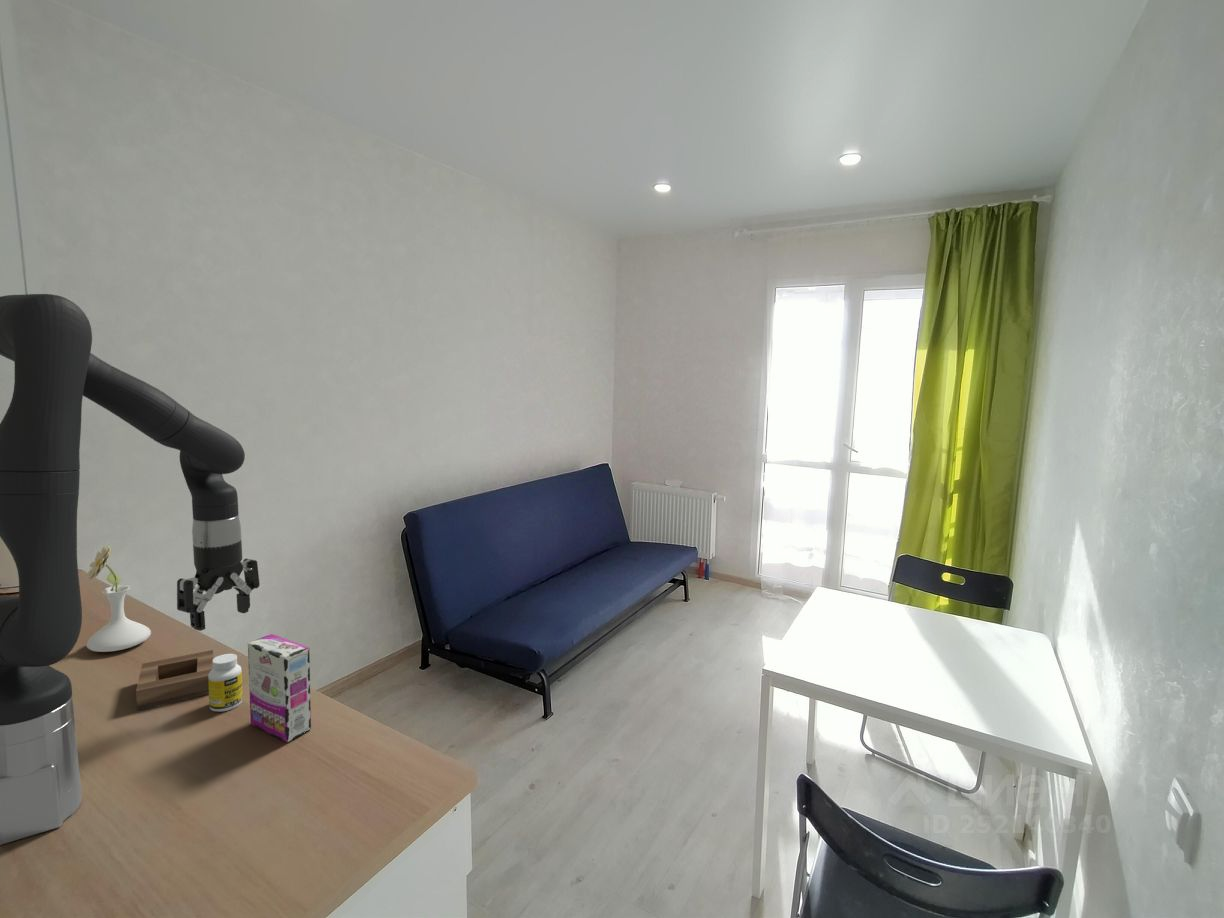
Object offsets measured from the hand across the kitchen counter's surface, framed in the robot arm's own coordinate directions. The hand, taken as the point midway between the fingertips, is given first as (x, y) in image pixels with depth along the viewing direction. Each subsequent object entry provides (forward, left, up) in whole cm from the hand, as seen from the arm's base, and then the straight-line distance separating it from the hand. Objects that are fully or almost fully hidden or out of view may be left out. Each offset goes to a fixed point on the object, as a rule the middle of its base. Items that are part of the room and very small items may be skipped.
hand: (222, 620), depth 108 cm
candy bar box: (-13, -8, -18) cm, 24 cm away
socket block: (+12, +8, -18) cm, 23 cm away
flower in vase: (+39, +20, -18) cm, 47 cm away
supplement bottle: (0, 0, -18) cm, 18 cm away
